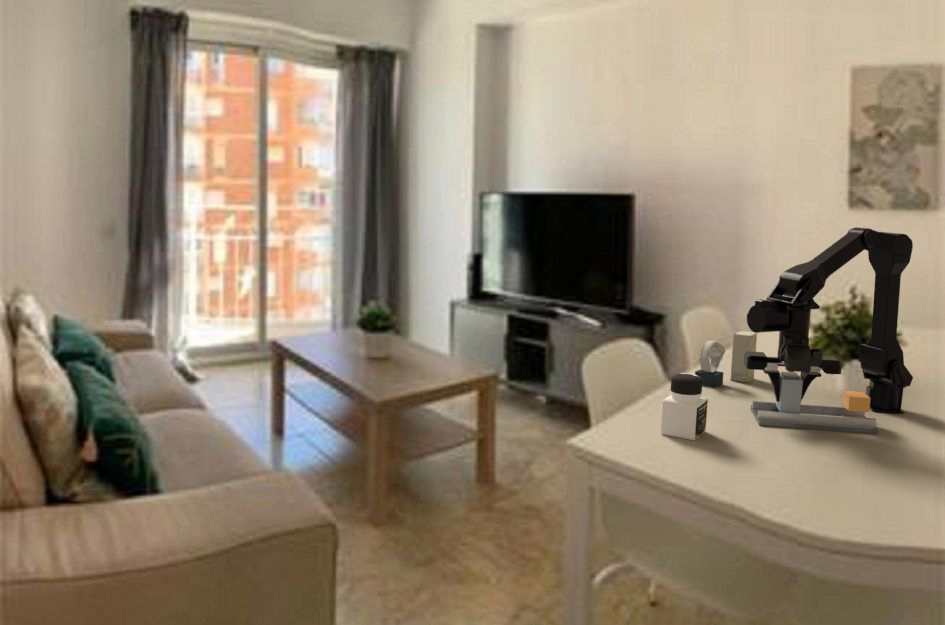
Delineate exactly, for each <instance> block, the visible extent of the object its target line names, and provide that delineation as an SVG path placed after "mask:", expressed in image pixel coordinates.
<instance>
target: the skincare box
mask: <svg viewBox="0 0 945 625" xmlns="http://www.w3.org/2000/svg"><path fill="white" fill-rule="evenodd" d="M757 337H758V333H755V332H753V331H744V330H740V331H737V332H736V333H733V337H732V339H733V340H732V352H731V353H732V354H731V368H730V381H734V382H739V383H740V382H741V383H748V382H750V381H752V380H754V379H755V370H753V369H747V368H746V366H745V365H744V363H743V362H744V354H745V353H746V352H747V351H749V352H757V341H758V340H757Z"/></svg>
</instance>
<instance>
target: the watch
mask: <svg viewBox="0 0 945 625" xmlns="http://www.w3.org/2000/svg"><path fill="white" fill-rule="evenodd" d="M725 353H726V349H725V346H724V345H723V344H722V343H721V342H719V341H717V340H710V339H709V340H705V341H704V342H703V344H702V346H701V350H700V356H699V357H700V358H699V364H700V365H699V366H700V369H697V370H695V371H694V375H697V376H699V377H701V379H702V386H705V387H709V388H718V387H720V386H722V385H723V383H724V372H723V371H718V368H719V367H720V363H721V362H722V360H723V357H724V354H725Z"/></svg>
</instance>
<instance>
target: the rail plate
mask: <svg viewBox="0 0 945 625" xmlns="http://www.w3.org/2000/svg"><path fill="white" fill-rule="evenodd" d="M750 411H751V413H752V415H753V416H754V419H755V421H756V422H757V424H758V426H759V427H761V426H762V427H773V428H776V427H777V428H786V429H787V428H790V429H801V430H802V429H805V430H816V431H817V430H818V431H832V432H843V433H844V432H845V433H860V434H870V435H871V434H874V435H878V433H879V429H878V427H877V419H876V418H870V417H866V416H865V414H866V412H859V411H848V410H847V409H846V408H845V407H844V406H838V405H824V404H807V403H801V406H800V413H795V412H780V411H779V409H778V408H777V406H776V401H767V400H766V401H763V400H752V403H751V404H750ZM760 425H761V426H760Z"/></svg>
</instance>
